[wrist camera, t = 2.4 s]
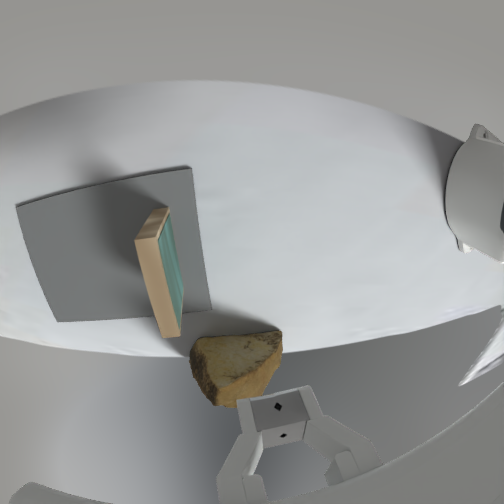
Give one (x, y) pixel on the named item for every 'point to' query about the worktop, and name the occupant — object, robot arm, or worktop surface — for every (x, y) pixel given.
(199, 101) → the worktop surface
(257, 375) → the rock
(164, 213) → the coaster
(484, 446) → the robot arm
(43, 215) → the mat
